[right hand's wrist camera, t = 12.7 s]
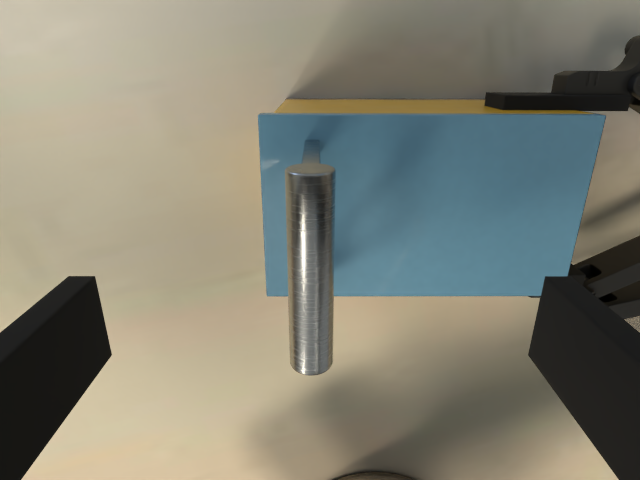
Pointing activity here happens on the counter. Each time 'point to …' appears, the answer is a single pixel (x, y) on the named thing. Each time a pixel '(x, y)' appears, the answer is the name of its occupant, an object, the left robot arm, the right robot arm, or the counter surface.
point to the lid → (416, 208)
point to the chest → (402, 106)
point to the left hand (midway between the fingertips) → (481, 192)
